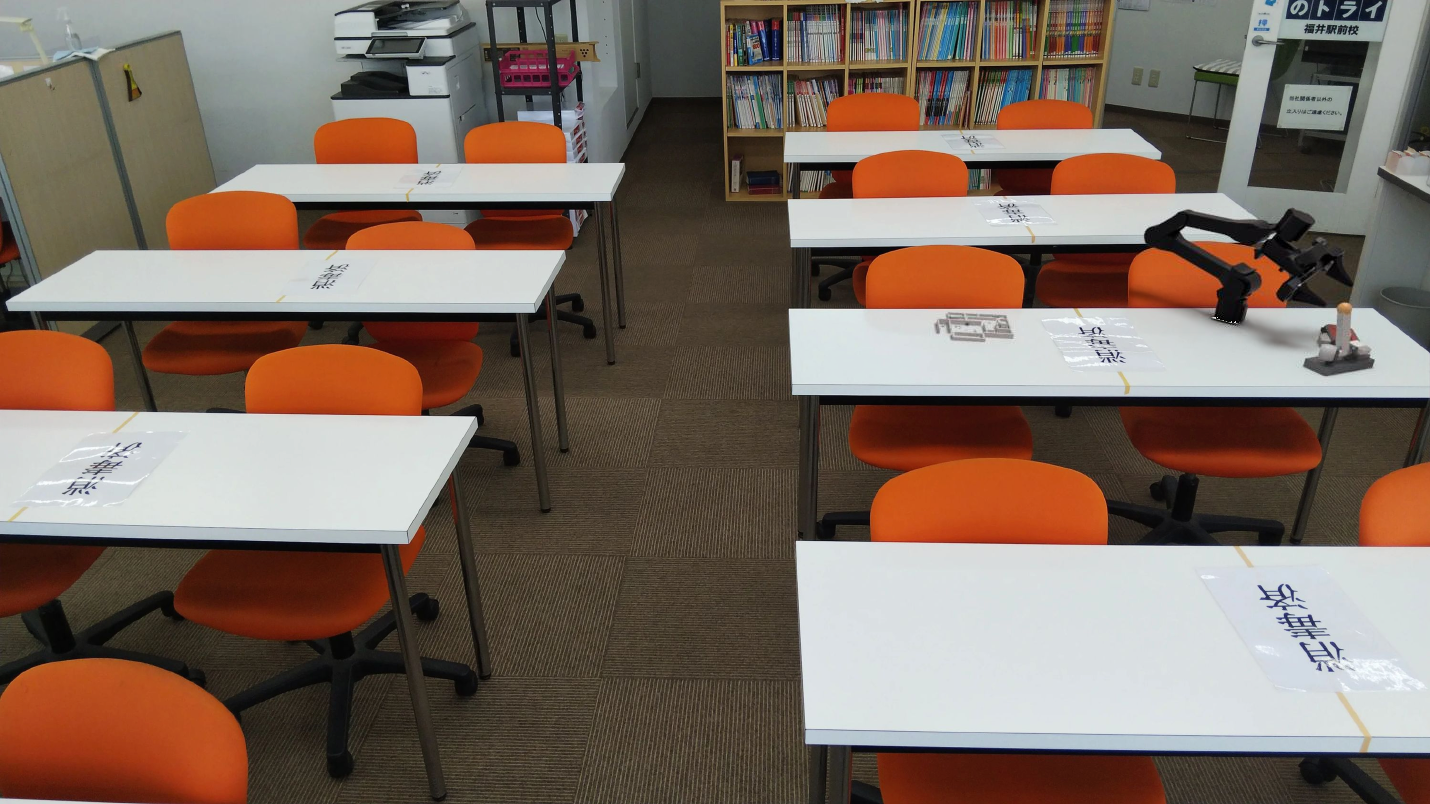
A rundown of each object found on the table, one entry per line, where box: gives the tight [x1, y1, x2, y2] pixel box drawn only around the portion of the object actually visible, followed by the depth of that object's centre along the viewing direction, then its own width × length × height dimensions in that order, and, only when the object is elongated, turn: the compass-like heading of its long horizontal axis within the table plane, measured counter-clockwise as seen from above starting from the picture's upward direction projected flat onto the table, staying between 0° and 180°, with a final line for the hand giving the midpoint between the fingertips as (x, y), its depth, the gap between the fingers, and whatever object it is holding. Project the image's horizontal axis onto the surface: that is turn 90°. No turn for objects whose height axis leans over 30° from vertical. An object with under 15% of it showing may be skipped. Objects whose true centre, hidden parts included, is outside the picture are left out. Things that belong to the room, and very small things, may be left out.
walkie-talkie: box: [1317, 323, 1361, 348], centre depth 236 cm, size 9×4×20 cm
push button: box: [1317, 344, 1337, 361], centre depth 222 cm, size 3×3×3 cm
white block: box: [1350, 340, 1372, 355], centre depth 225 cm, size 4×3×1 cm
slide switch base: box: [1302, 344, 1376, 377], centre depth 225 cm, size 6×15×5 cm, turn 109°
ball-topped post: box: [1336, 302, 1353, 358], centre depth 223 cm, size 3×4×13 cm
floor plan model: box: [936, 311, 1015, 343], centre depth 244 cm, size 19×25×2 cm
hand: (1339, 296), depth 231 cm, fingers open, 9 cm apart
